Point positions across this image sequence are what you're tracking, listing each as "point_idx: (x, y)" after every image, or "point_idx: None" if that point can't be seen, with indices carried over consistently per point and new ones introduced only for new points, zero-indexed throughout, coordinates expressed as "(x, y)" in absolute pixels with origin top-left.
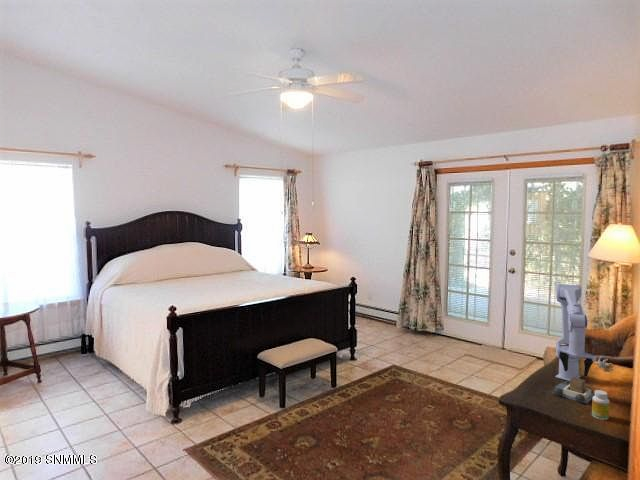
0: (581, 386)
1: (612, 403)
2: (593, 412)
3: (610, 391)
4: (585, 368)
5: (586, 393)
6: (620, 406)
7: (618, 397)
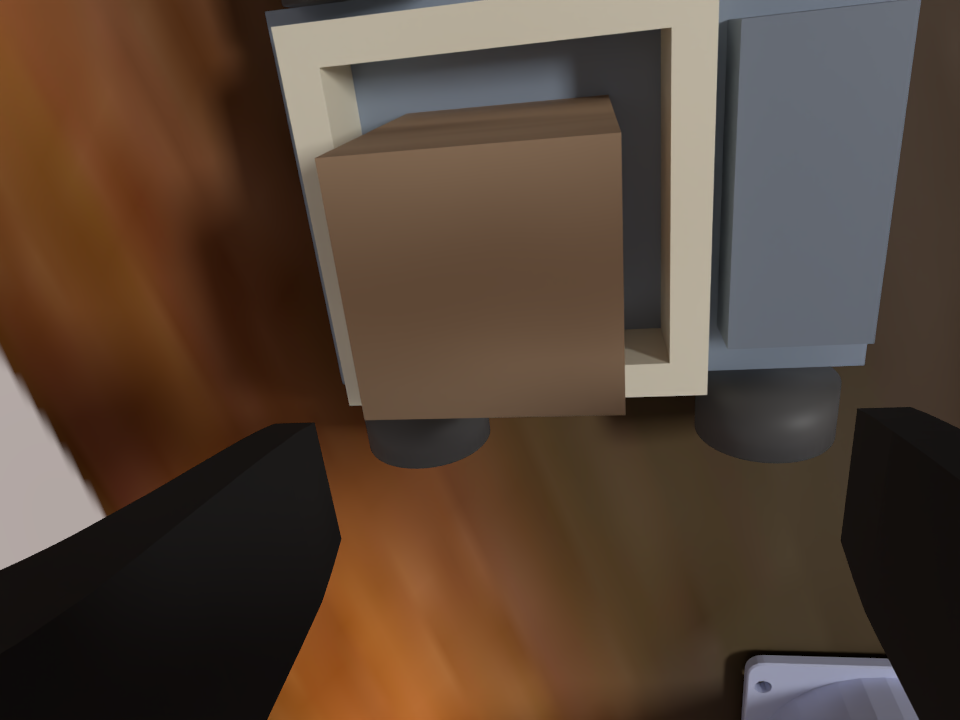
0: (346, 143)
1: (127, 343)
2: None
3: (335, 661)
4: (103, 557)
5: (301, 148)
6: (31, 325)
7: None
